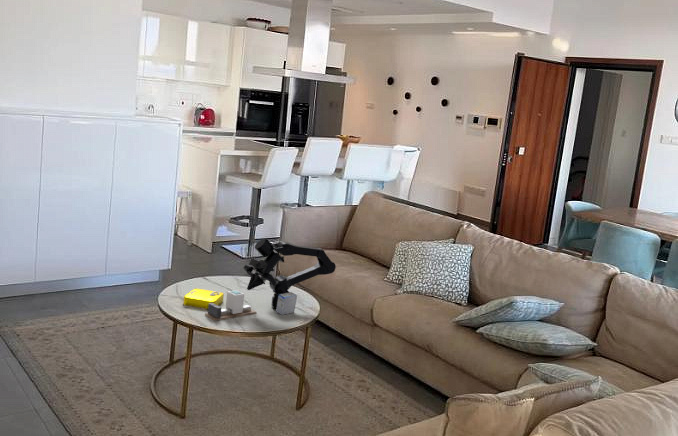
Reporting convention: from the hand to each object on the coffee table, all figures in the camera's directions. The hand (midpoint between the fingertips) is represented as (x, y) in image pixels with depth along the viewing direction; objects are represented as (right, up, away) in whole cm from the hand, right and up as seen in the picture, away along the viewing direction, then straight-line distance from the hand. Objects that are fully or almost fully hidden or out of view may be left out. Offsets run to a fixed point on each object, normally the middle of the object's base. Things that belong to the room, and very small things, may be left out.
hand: (247, 289), depth 309 cm
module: (-6, -9, -3) cm, 11 cm away
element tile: (-22, -8, +8) cm, 24 cm away
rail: (-7, -10, -4) cm, 13 cm away
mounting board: (-7, -11, -4) cm, 13 cm away
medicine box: (+16, -11, +8) cm, 21 cm away
